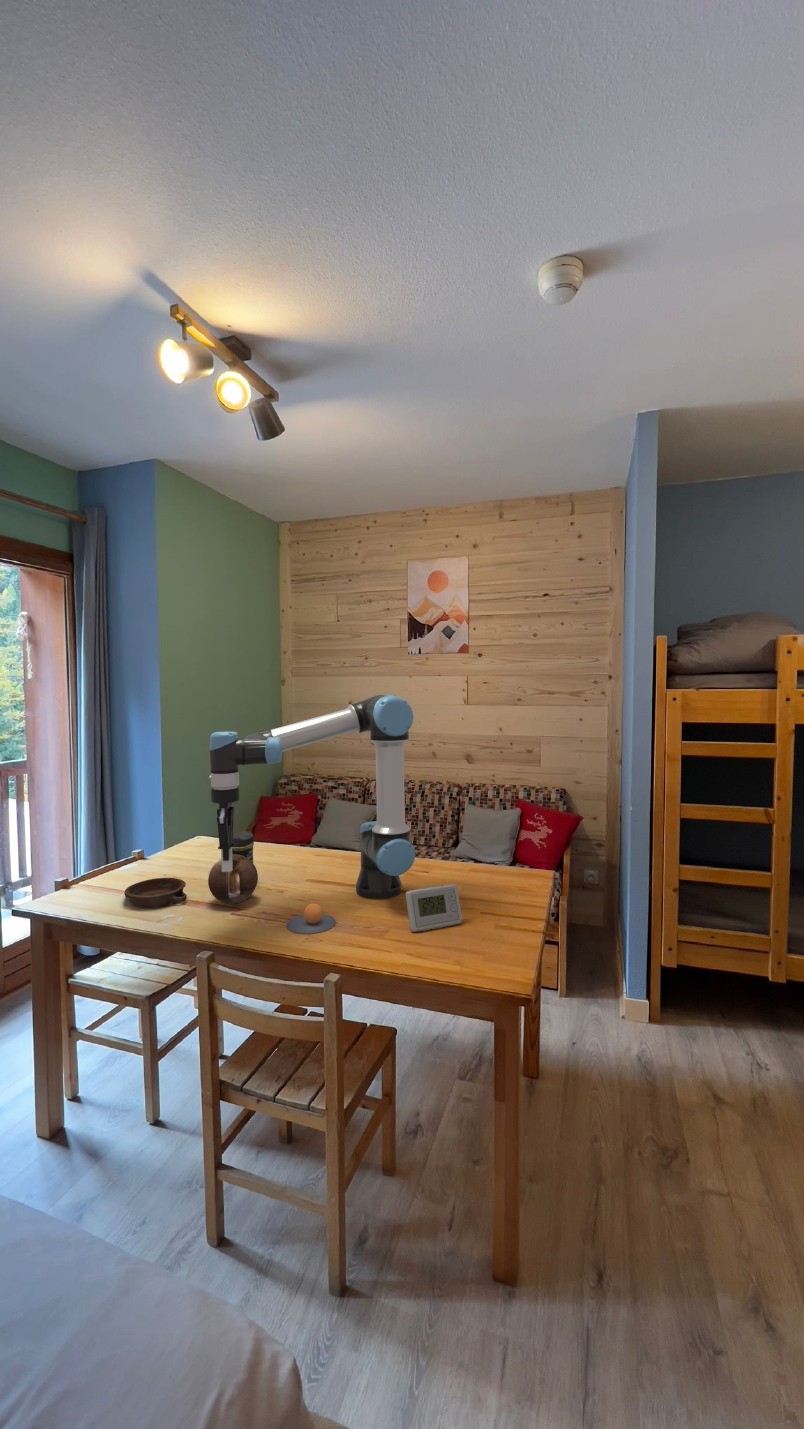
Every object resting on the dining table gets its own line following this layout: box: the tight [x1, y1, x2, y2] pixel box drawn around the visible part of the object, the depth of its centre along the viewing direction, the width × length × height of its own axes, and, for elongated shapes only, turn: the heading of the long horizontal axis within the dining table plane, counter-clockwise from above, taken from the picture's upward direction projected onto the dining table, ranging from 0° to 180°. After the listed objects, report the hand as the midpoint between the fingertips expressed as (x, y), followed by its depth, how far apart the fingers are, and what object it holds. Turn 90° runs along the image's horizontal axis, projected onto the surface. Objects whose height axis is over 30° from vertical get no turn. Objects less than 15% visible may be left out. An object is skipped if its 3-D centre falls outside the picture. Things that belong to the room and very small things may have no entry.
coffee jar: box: [231, 830, 255, 864], centre depth 200 cm, size 10×8×19 cm
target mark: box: [285, 913, 337, 935], centre depth 170 cm, size 14×14×1 cm
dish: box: [124, 877, 188, 909], centre depth 189 cm, size 18×22×5 cm
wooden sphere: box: [207, 854, 259, 905], centre depth 187 cm, size 15×15×15 cm
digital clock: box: [405, 883, 463, 932], centre depth 168 cm, size 16×9×11 cm, turn 100°
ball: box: [303, 903, 324, 924], centre depth 170 cm, size 6×6×6 cm
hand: (227, 870), depth 166 cm, fingers closed
